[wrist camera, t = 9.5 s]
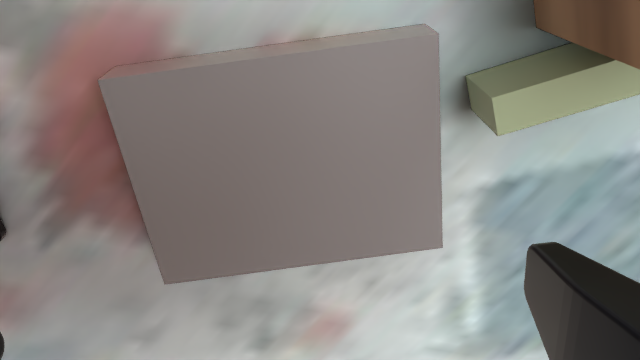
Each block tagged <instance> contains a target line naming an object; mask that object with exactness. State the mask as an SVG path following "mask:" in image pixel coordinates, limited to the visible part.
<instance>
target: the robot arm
mask: <svg viewBox="0 0 640 360" xmlns="http://www.w3.org/2000/svg"><path fill="white" fill-rule="evenodd" d="M5 235H6V230H5V227H4V225H3V223H2V221H1V219H0V241H1V240H2V239H3V238H4V237H5ZM524 292H525V297H526V300H527V303H528V305H529V308H530V311H531V313H532V316H533V318H534V321H535V324H536V326H537V329H538V331H539V334H540V337H541V339H542V342H543V344H544V347H545V350H546V352H547V355H548V357H549V360H640V283H638V282H636V281H634V280H632V279H630V278H628V277H626V276H624V275H622V274H620V273H618V272H616V271H614V270H612V269H610V268H608V267H606V266H604V265H602V264H600V263H598V262H596V261H594V260H592V259H590V258H588V257H586V256H584V255H581V254H579V253H577V252H575V251H573V250H571V249H569V248H567V247H565V246H563V245H561V244H559V243H557V242H548V243H539V244H532V245H531V246H530V247H529V248H528V251H527V258H526V269H525V280H524ZM3 352H4V338H3V336H2V334H1V332H0V360H1V358H2V356H3Z"/></svg>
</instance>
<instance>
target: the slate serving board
mask: <svg viewBox="0 0 640 360" xmlns="http://www.w3.org/2000/svg"><path fill="white" fill-rule="evenodd" d="M98 83H99V86H100V89H101V92H102V95H103V99H104V102H105V105H106V108H107V111H108V114H109V117H110V120H111V123H112V126H113V129H114V132H115V135H116V138H117V141H118V144H119V147H120V150H121V153H122V156H123V159H124V162H125V165H126V169H127V172H128V175H129V178H130V181H131V184H132V187H133V190H134V193H135V196H136V199H137V202H138V205H139V208H140V211H141V214H142V217H143V220H144V223H145V226H146V229H147V232H148V235H149V239H150V242H151V245H152V248H153V251H154V254H155V257H156V260H157V263H158V266H159V269H160V272H161V275H162V278H163V281H164V284H172V283H180V282H187V281H195V280H202V279H210V278H218V277H225V276H233V275H240V274H248V273H255V272H263V271H271V270H278V269H286V268H293V267H301V266H308V265H316V264H323V263H331V262H339V261H346V260H354V259H361V258H369V257H376V256H384V255H392V254H399V253H407V252H414V251H422V250H429V249H437V248H443V243H442V191H441V138H440V85H439V33H437V32H436V31H434V30H433V29H432V28H430V27H429V26H427V25H426V24H419V25H412V26H405V27H397V28H390V29H383V30H376V31H368V32H361V33H354V34H346V35H339V36H332V37H325V38H317V39H310V40H303V41H295V42H288V43H281V44H274V45H266V46H259V47H252V48H244V49H237V50H230V51H223V52H215V53H208V54H201V55H193V56H186V57H179V58H172V59H164V60H157V61H150V62H142V63H135V64H128V65H121V66H115V67H114V68H112V69H111V70H110V71H109V72H107V73H106V74H105V75H103V76H102V77H101V78H100V79H98Z"/></svg>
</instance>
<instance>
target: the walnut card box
mask: <svg viewBox="0 0 640 360" xmlns="http://www.w3.org/2000/svg"><path fill="white" fill-rule="evenodd" d="M534 10H535V20H536V28H538V29H541V30H543V31H546V32H548V33H551V34H553V35H556V36H558V37H561V38H563V39H565V40H568V41H570V42H573V43H575V44H578V45H580V46H583V47H585V48H588V49H590V50H593V51H595V52H598V53H600V54H602V55H605V56H607V57H610V58H612V59H615V60H617V61H620V62H622V63H625V64H627V65H630V66H632V67H635V68H637V69H639V70H640V0H534Z"/></svg>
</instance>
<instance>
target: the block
mask: <svg viewBox="0 0 640 360" xmlns="http://www.w3.org/2000/svg"><path fill="white" fill-rule="evenodd" d="M466 81H467V87H468V92H469V98H470V104H471V109H472V111H473V112H474V113H475V114H476V115H477V116H478V117H479V118H480V119H481V120H482V121H483V122H484V123H485V124H486V125H487V126H488V127H489V128H490V129H491V130H492V131H493V132H494V133H495V134H496V135H497V136H500V135H504V134H507V133H511V132H514V131H517V130H521V129H524V128H527V127H531V126H534V125H538V124H541V123H544V122H548V121H551V120H554V119H558V118H561V117H564V116H568V115H571V114H575V113H578V112H581V111H585V110H588V109H591V108H595V107H598V106H602V105H605V104H608V103H612V102H615V101H618V100H622V99H625V98H629V97H632V96H635V95H639V94H640V70H639V69H637V68H635V67H632V66H630V65H627V64H625V63H622V62H620V61H617V60H615V59H612V58H610V57H607V56H605V55H602V54H600V53H598V52H595V51H593V50H590V49H588V48H585V47H583V46H580V45H578V44H575V43H570V44H567V45H563V46H560V47H557V48H554V49H550V50H547V51H544V52H541V53H537V54H534V55H531V56H528V57H525V58H521V59H518V60H515V61H512V62H508V63H505V64H502V65H499V66H495V67H492V68H489V69H486V70H482V71H479V72H476V73H473V74H470V75H466Z"/></svg>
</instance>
